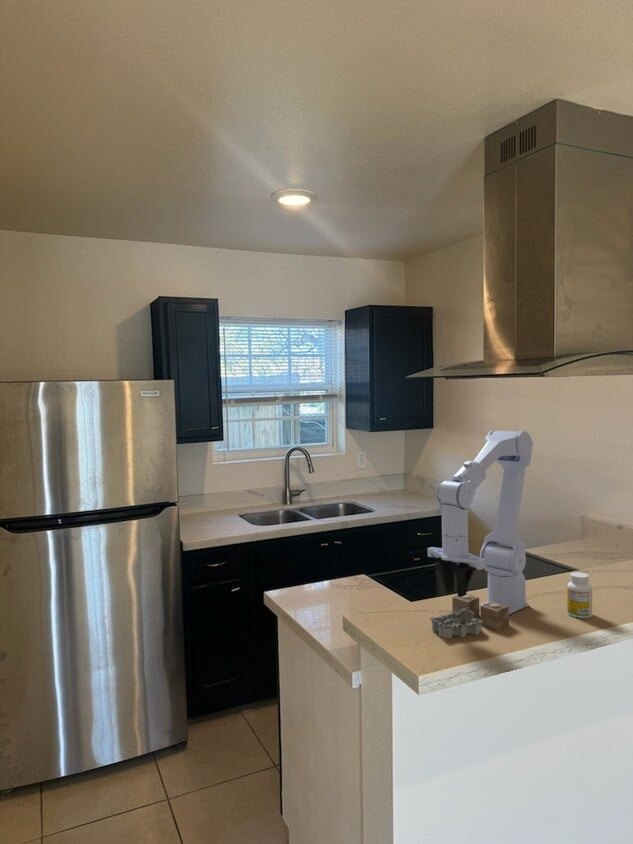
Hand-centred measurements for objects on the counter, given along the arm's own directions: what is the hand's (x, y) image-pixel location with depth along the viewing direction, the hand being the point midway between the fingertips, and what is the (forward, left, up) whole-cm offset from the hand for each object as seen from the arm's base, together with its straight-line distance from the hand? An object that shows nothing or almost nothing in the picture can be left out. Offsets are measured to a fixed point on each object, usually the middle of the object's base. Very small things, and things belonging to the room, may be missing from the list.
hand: (455, 593), depth 133 cm
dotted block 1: (-9, -4, -8) cm, 13 cm away
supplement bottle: (-29, +14, -9) cm, 33 cm away
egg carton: (0, 0, -9) cm, 9 cm away
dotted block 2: (-9, +4, -8) cm, 13 cm away
